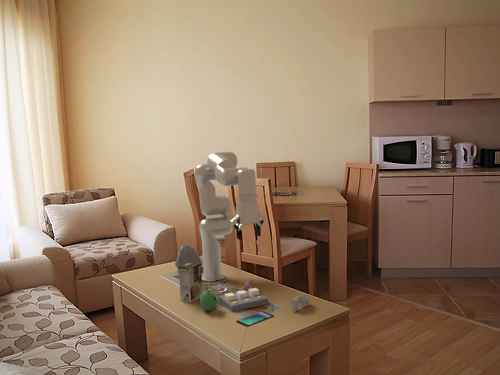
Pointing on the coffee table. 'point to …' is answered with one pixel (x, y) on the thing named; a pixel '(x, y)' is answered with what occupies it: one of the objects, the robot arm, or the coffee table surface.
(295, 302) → the garden wall model
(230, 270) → the coffee table surface
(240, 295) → the button middle
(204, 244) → the robot arm
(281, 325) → the coffee table surface
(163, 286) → the coffee table surface
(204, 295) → the alien toy
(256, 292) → the button
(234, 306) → the button board
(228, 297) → the button
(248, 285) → the pink curved piece
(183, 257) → the decorative rock
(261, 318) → the smartphone
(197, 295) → the coffee box
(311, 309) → the coffee table surface
